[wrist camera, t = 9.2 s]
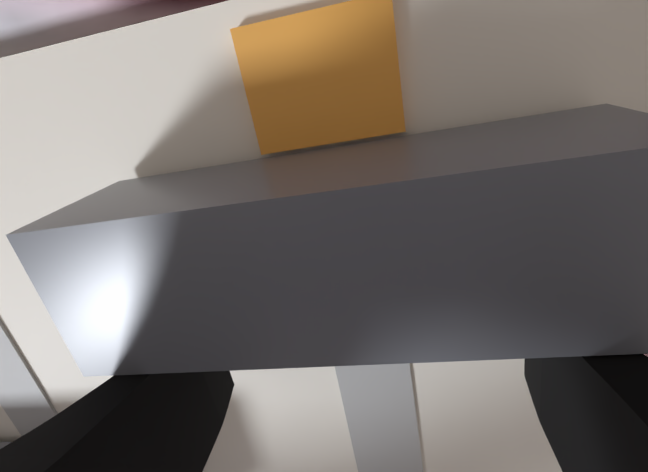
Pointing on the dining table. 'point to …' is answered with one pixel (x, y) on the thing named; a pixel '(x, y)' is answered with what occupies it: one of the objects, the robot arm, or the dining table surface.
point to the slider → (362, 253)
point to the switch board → (286, 138)
